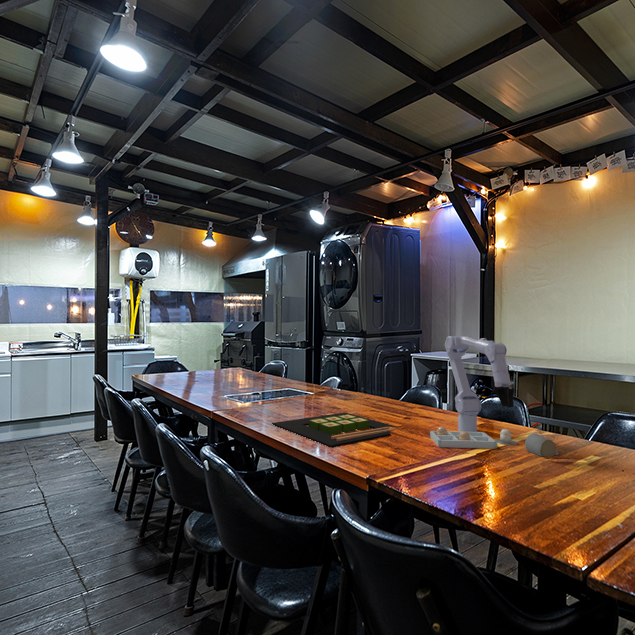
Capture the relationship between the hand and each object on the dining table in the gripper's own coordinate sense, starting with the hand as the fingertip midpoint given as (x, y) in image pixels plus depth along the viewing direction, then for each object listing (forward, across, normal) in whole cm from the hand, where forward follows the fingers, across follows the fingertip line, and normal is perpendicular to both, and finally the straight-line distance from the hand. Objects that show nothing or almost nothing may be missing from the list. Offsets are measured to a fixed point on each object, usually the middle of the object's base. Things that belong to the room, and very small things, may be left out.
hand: (508, 406), depth 164 cm
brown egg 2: (+12, -5, +18) cm, 22 cm away
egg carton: (+12, -2, +20) cm, 24 cm away
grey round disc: (+14, +10, +6) cm, 18 cm away
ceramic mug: (+19, +3, -8) cm, 21 cm away
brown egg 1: (+10, -3, +27) cm, 29 cm away
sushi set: (+1, -11, +72) cm, 73 cm away
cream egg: (+13, +9, +6) cm, 17 cm away
